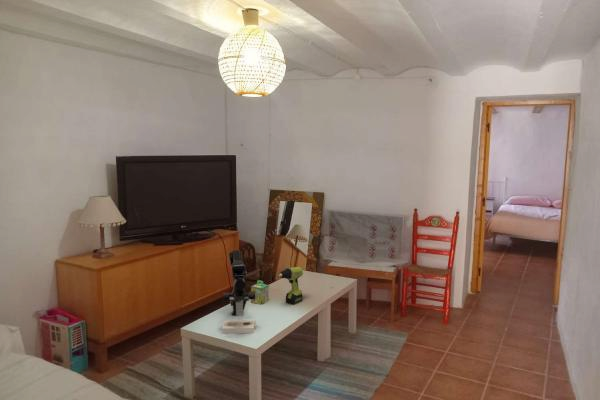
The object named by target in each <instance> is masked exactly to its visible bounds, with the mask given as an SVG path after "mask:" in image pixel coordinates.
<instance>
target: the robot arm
mask: <svg viewBox="0 0 600 400" xmlns="http://www.w3.org/2000/svg"><path fill="white" fill-rule="evenodd" d="M242 260H243V252H241V250H239V249H236V250H232V251H231V252H229V253H228V261H229V263H230V265H231V274H232V275H231V277H232V282H233V283H232V285H233V290H232V292H223V295H222V300H223V301H229V302H230V306H231V307H232V313H231V316H236V301H242V300H243V310H245V308H246V304H247V302H248V301H249V300H251V299H255V297H256V293H255V292H251V291H249V292H248V293H247V292H246V291H245V287H246V281H245V277H247V275H248V274H247V273H248V272H247V266H246V264H244V261H242Z"/></svg>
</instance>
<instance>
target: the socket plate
mask: <svg viewBox="0 0 600 400" xmlns="http://www.w3.org/2000/svg"><path fill="white" fill-rule="evenodd" d="M255 329H256V319H228V320H226V319H225V320H224V322H223V326H222V328H221V332H222V334H254V332H255Z"/></svg>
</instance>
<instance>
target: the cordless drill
mask: <svg viewBox="0 0 600 400" xmlns="http://www.w3.org/2000/svg"><path fill="white" fill-rule="evenodd" d="M303 275H304V270H303V268H302V267H301V266H296V267H288V268H285V269H284V270H281V271H280V272H279V274H278V276H279V277H280V278H282V279H287V280H288V283H289V284H291V289H290V290H289V291H288V292H287V293H286V296H285V304H287V303H288V305H291V306H292V305H293V306H295V305H297V304H299V303H301V302H303V290H301V289H300V288H299V280H298V279H299V278H300V277H303Z"/></svg>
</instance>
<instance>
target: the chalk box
mask: <svg viewBox="0 0 600 400" xmlns="http://www.w3.org/2000/svg"><path fill="white" fill-rule="evenodd" d="M269 288H270V287H269V284H265V283H264V281H263V280H260V279H259V280H257V281H256V284H253V285H251V286H250V292H255V293H256V297H255V299H250V302H251V303H253V304H258V305H261V304H262V305H264V304H265V303H267V302H269V298H270V297H269V292H270V291H269Z"/></svg>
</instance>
